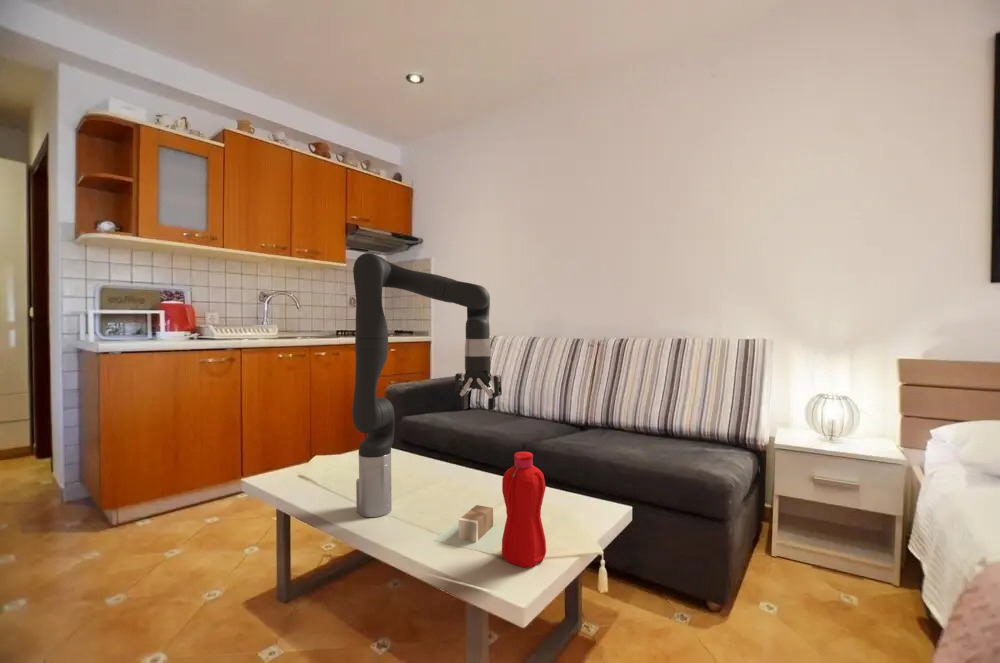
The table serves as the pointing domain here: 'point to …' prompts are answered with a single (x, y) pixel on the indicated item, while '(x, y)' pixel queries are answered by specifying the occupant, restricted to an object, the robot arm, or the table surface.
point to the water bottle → (523, 512)
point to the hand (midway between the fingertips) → (478, 409)
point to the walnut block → (475, 523)
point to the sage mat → (482, 544)
